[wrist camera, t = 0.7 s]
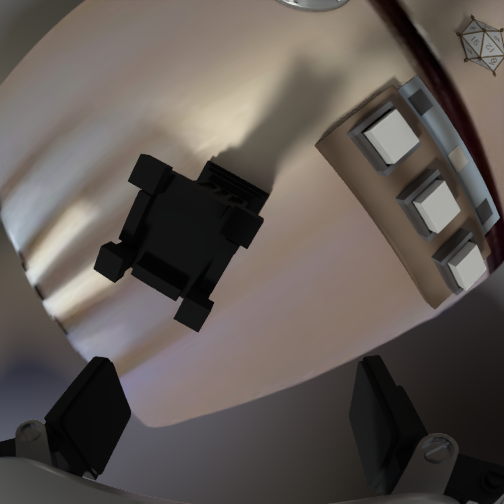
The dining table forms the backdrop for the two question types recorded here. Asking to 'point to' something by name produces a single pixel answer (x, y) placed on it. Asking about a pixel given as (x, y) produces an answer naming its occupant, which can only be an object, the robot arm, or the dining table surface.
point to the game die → (483, 44)
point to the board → (414, 185)
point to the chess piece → (183, 233)
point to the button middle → (436, 205)
